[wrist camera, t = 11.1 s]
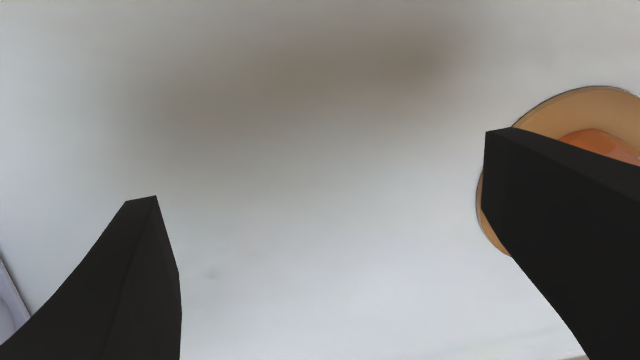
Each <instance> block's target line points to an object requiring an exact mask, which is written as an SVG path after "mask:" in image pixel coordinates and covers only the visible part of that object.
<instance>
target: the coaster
mask: <svg viewBox="0 0 640 360" xmlns="http://www.w3.org/2000/svg"><path fill="white" fill-rule="evenodd" d="M512 127H515V128H519V129H523V130H527V131H531V132H534V133H537V134H541V135H544V136H547V137H550V138H553V139H556V140H558V139H560V138H562V137H564V136H566V135H568V134H571V133H573V132H577V131H581V130H602V131H605V132H608V133H610V134H612V135H614V136H615V137H618V138H620V139H621V140H623V141H624V142H626V143H628V144H629V145H631V146H632V147H634V148H635V149H637V150H638V151H640V98H638V97H637V96H635V95H633V94H631V93H629V92H627V91H624V90H621V89H618V88H613V87H607V86H593V87H585V88H580V89H576V90H572V91H568V92H566V93H563V94H560V95H558V96H555V97H553V98H551V99H549V100H547V101H546V102H544V103H542V104H540V105H539V106H537V107H536V108H534V109H533V110H531V111H530V112H529V113H527V114H526V115H525V116H524V117H522V118H521V119H520V120H519V121H518V122H517V123H516V124H515V125H514V126H512ZM482 179H483V171H482V174H481V177H480V180H479V184H478V188H477V196H476V210H477V216H478V220H479V223H480V226H481V228H482V230H483V232H484V234H485V235H486V237H487V238H488V239H489V241H490V242H491V243H492V244H493V245H494V246H495V247H496V248H497V249H498V250H500V251H501V252H502V253H504V254H506V255H508V256H510V257H511V255H510V254H509V253H508V252H507V250H506V249H505V248H504V246H503V245H502V244H501V243H500V241H499V239H498V238H497V236H496V234H495V233H494V231H493V230H492V228H491V226H490V224H489V223H488V221H487V219H486V217H485V215H484V214H483V212H482V210H481V193H482Z"/></svg>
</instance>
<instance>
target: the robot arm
mask: <svg viewBox="0 0 640 360" xmlns="http://www.w3.org/2000/svg"><path fill="white" fill-rule="evenodd" d="M481 210H482V212H483V214H484V215H485V217H486V219H487V221H488V223H489V224H490V226H491V228H492V230H493V231H494V233H495V234H496V236H497V238H498V239H499V241H500V243H501V244H502V245H503V246H504V248H505V249H506V250H507V252H508V253H509V254H510V255H511V257H512V258H513V259H514V260H515V262H516V263H517V264H518V265H519V267H520V268H521V269H522V270H523V272H524V273H525V274H526V275H527V276H528V278H529V279H530V280H531V281H532V283H533V284H534V285H535V286H536V287H537V289H538V290H539V291H540V292H541V294H542V295H543V296H544V297H545V298H546V300H547V301H548V302H549V303H550V305H551V306H552V307H553V308H554V309H555V311H556V312H557V313H558V314H559V316H560V317H561V318H562V320H563V321H564V322H565V324H566V325H567V326H568V328H569V329H570V330H571V332H572V333H573V335H574V336H575V338H576V339H577V341H578V342H579V344H580V345H581V347H582V349H583V350H584V352H585V353H586V355H587V356H588V358H589V359H590V360H640V166H637V165H633V164H630V163H626V162H623V161H620V160H617V159H613V158H610V157H607V156H604V155H601V154H598V153H594V152H591V151H588V150H585V149H582V148H579V147H577V146H574V145H571V144H568V143H565V142H562V141H559V140H556V139H553V138H550V137H547V136H544V135H541V134H537V133H534V132H531V131H527V130H523V129H519V128H515V127H508V128H503V129H497V130H492V131H487V132H486V135H485V149H484V164H483V179H482V193H481ZM181 323H182V307H181V293H180V281H179V272H178V268H177V265H176V261H175V258H174V255H173V251H172V248H171V244H170V241H169V238H168V234H167V231H166V227H165V224H164V221H163V217H162V214H161V211H160V207H159V204H158V200H157V197H156V195H155V196H150V197H145V198H139V199H134V200H129V201H125V203H124V204H123V205H122V207H121V208H120V209H119V211H118V212H117V213H116V215H115V216H114V218H113V219H112V220H111V222H110V223H109V225H108V226H107V227H106V229H105V230H104V232H103V233H102V234H101V236H100V237H99V239H98V240H97V241H96V243H95V244H94V245H93V247H92V248H91V249H90V251H89V252H88V253H87V255H86V256H85V257H84V259H83V260H82V261H81V262H80V264H79V265H78V266H77V267H76V268H75V269H74V271H73V272H72V273H71V274H70V275H69V277H68V278H67V279H66V280H65V281H64V282H63V284H62V285H61V286H60V287H59V288H58V290H57V291H56V292H55V293H54V294H53V295H52V296H51V297H50V298H49V300H48V301H47V302H46V303H45V304H44V305H43V306H42V307H41V308H40V309H39V310H38V311H37V312H36V313H35V314H34V315H33V316H32V317H30V315H29V313H28V311H27V309H26V307H25V305H24V303H23V301H22V299H21V297H20V295H19V294H18V292H17V290H16V288H15V286H14V284H13V282H12V280H11V278H10V276H9V274H8V272H7V270H6V269H5V267H4V265H3V263H2V261H1V259H0V360H179V359H180V342H181Z"/></svg>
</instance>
